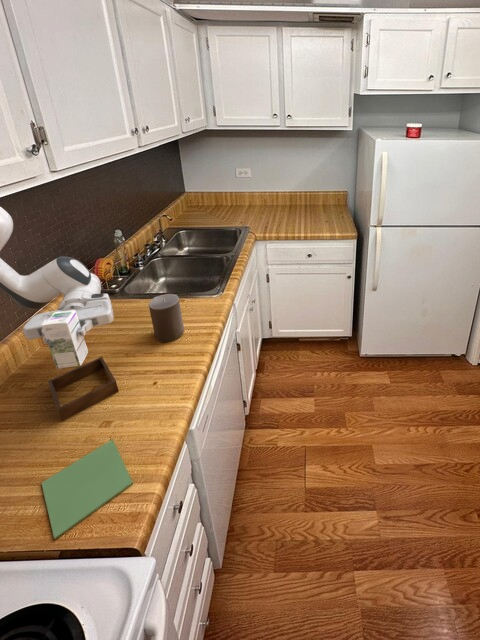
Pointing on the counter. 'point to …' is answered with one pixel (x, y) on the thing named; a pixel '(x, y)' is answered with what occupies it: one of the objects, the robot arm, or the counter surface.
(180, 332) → the pillar candle
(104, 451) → the green mat
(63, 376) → the frame
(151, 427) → the counter surface
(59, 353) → the syrup box
